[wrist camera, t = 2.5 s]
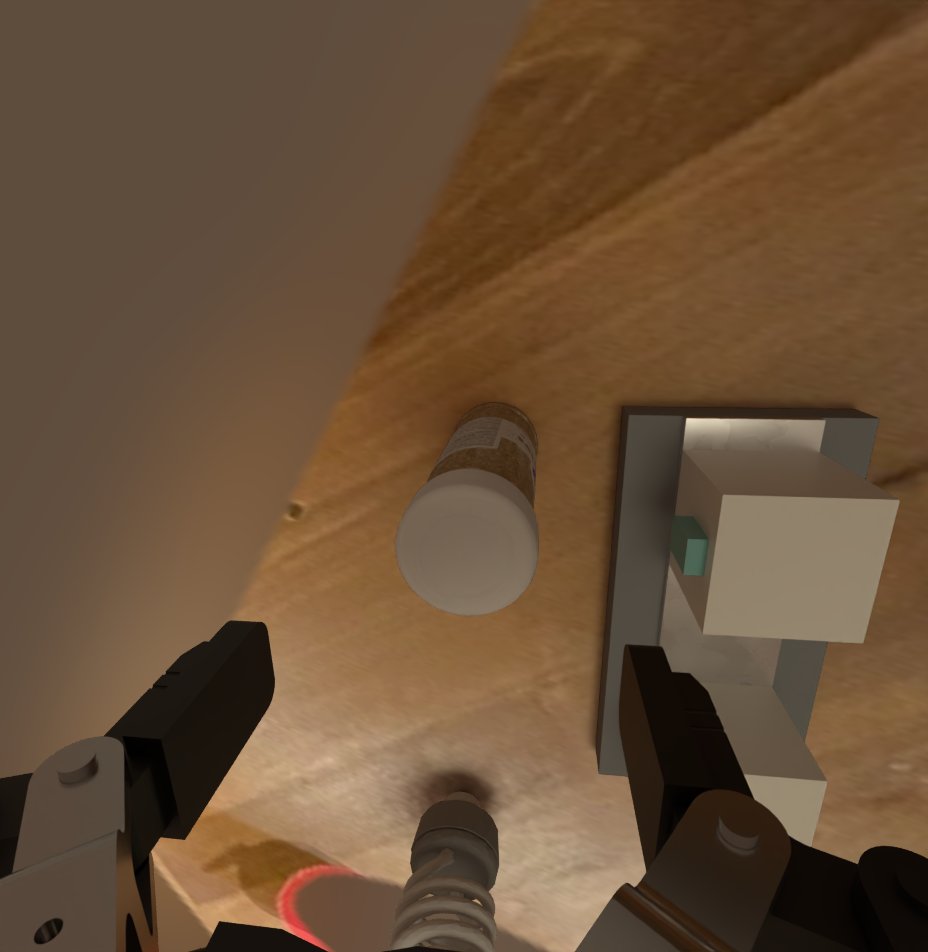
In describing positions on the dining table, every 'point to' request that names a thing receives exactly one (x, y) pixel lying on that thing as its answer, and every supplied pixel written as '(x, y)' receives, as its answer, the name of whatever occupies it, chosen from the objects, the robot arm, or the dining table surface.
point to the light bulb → (450, 879)
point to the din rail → (678, 626)
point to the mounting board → (647, 540)
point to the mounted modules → (777, 590)
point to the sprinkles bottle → (475, 517)
